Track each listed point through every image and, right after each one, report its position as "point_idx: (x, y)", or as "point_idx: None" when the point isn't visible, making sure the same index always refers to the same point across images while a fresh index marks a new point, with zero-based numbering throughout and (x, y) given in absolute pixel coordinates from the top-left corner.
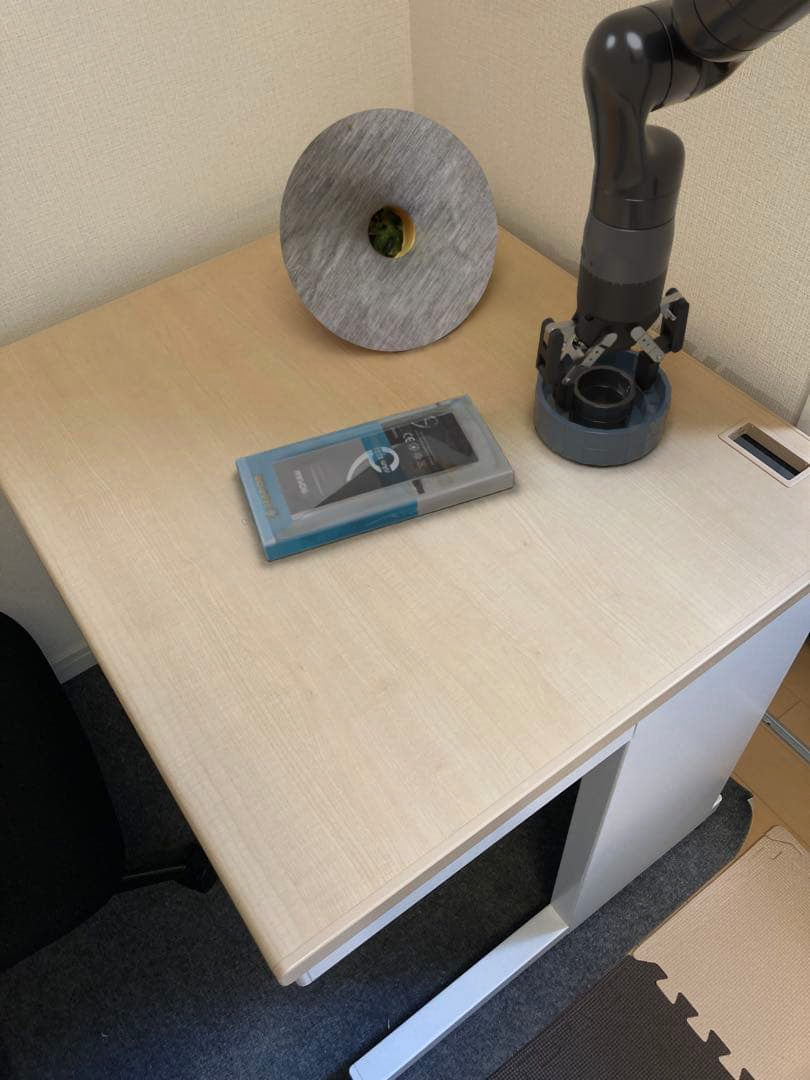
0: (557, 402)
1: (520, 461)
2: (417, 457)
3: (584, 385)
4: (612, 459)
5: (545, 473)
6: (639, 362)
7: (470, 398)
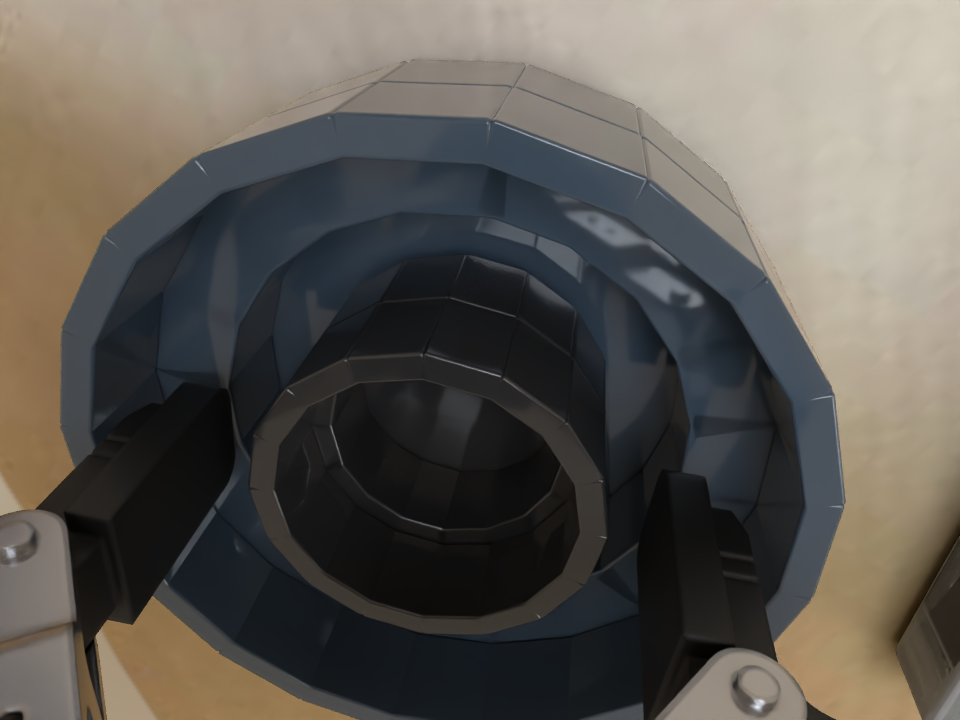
0: (748, 547)
1: (939, 346)
2: None
3: (470, 550)
4: (592, 97)
5: (901, 224)
6: (167, 552)
7: (940, 712)
